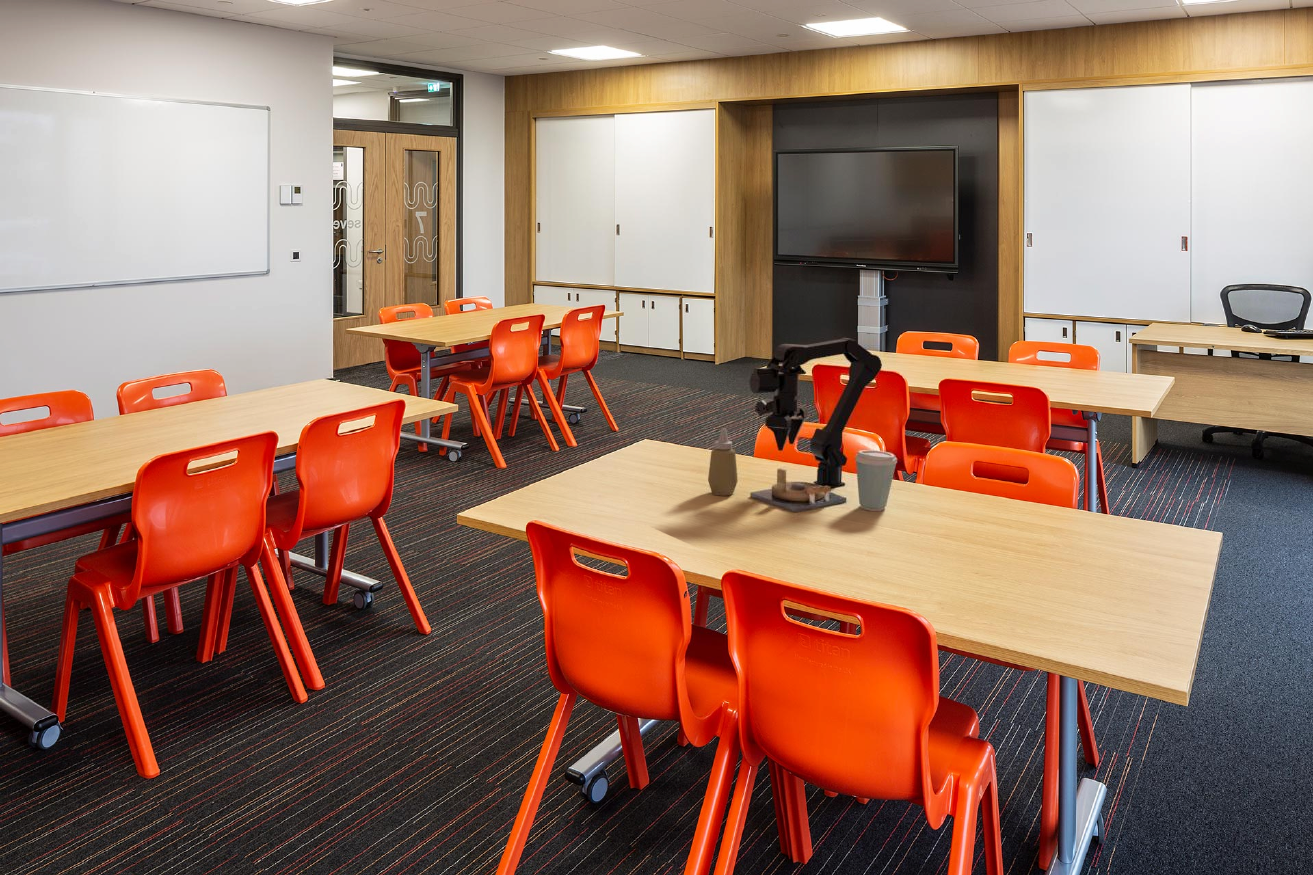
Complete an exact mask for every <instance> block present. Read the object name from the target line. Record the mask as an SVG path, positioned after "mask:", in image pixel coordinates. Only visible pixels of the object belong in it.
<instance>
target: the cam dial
mask: <svg viewBox="0 0 1313 875" xmlns="http://www.w3.org/2000/svg"><path fill="white" fill-rule="evenodd" d="M776 473H777V474H776V483H775V484H774V485H772V486H771V489H772V495H773V496H775V497H777V498H780V499H784V500H790V501H809V495H810V493H808V491H809V489H812V488H818V487H823V486H821V485H818V484H815V483H814V482H805V481H787V468H782V467H781V468H777V469H776ZM823 497H824V492H821V493H815V500H818V499H821V498H823Z"/></svg>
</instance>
